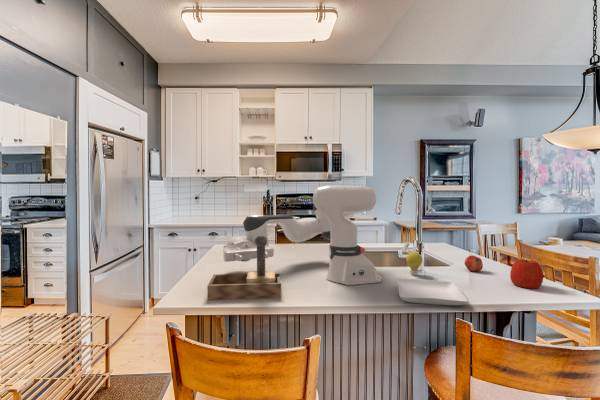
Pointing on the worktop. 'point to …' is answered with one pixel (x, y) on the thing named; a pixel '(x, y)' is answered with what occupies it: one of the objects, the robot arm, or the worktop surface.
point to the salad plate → (430, 292)
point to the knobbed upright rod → (261, 265)
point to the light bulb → (414, 262)
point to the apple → (526, 274)
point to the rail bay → (241, 288)
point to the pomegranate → (473, 263)
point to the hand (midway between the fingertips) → (254, 257)
